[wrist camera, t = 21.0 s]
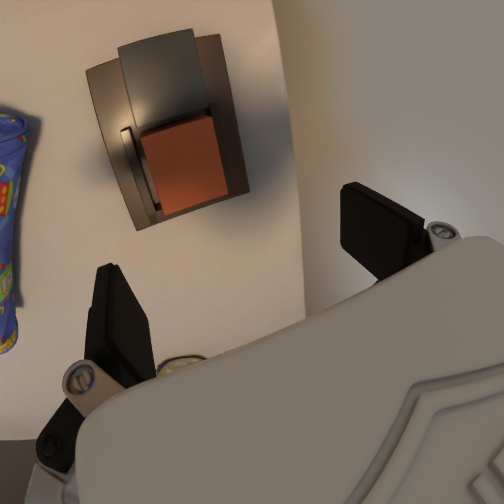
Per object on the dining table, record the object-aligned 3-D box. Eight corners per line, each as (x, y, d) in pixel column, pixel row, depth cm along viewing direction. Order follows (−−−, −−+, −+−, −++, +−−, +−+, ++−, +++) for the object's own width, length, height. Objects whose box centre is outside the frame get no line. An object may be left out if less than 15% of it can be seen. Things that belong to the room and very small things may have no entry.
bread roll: (162, 392, 38) (167, 413, 35) (152, 360, 34) (157, 384, 31) (211, 384, 41) (218, 403, 38) (210, 351, 37) (219, 373, 34)
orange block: (200, 113, 20) (211, 116, 17) (215, 179, 24) (228, 194, 21) (140, 132, 19) (140, 138, 16) (160, 197, 23) (164, 215, 20)
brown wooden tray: (216, 36, 18) (236, 22, 14) (245, 188, 27) (268, 208, 23) (87, 71, 16) (73, 64, 11) (136, 226, 24) (137, 254, 20)
